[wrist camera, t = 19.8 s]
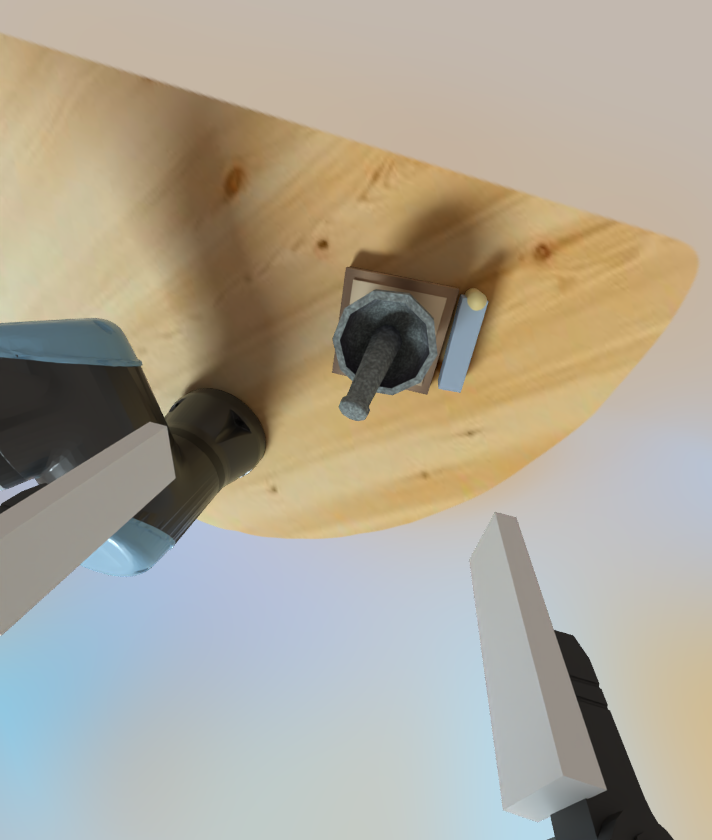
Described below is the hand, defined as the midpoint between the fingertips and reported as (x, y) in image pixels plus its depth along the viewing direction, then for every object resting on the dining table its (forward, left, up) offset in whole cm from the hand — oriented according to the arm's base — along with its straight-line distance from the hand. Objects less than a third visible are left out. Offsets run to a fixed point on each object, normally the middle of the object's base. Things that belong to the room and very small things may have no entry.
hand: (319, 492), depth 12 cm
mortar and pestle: (0, 0, -27) cm, 27 cm away
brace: (+8, +1, -28) cm, 30 cm away
